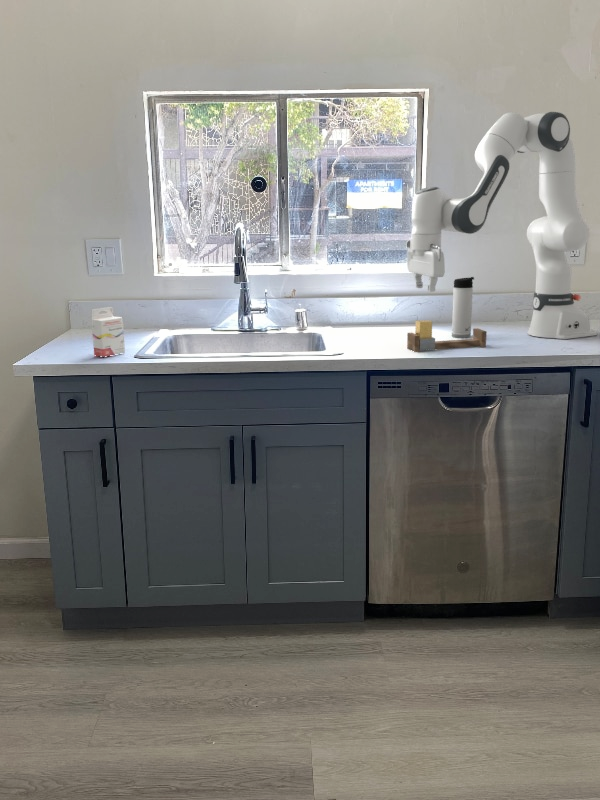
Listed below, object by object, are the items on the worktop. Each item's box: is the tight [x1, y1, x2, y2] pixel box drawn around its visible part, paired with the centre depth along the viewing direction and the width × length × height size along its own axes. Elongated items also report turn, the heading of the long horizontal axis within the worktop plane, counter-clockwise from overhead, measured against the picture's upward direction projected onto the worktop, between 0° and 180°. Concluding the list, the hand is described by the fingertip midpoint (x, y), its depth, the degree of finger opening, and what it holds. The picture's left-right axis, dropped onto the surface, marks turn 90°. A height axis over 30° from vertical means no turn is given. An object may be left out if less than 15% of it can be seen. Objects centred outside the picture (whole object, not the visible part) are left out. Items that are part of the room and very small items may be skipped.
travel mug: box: [451, 276, 475, 339], centre depth 246 cm, size 6×7×20 cm
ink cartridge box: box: [90, 306, 126, 357], centre depth 228 cm, size 9×5×15 cm, turn 141°
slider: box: [414, 319, 436, 352], centre depth 228 cm, size 5×6×9 cm
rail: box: [406, 327, 488, 353], centre depth 230 cm, size 24×6×5 cm, turn 104°
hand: (425, 289), depth 224 cm, fingers open, 8 cm apart
